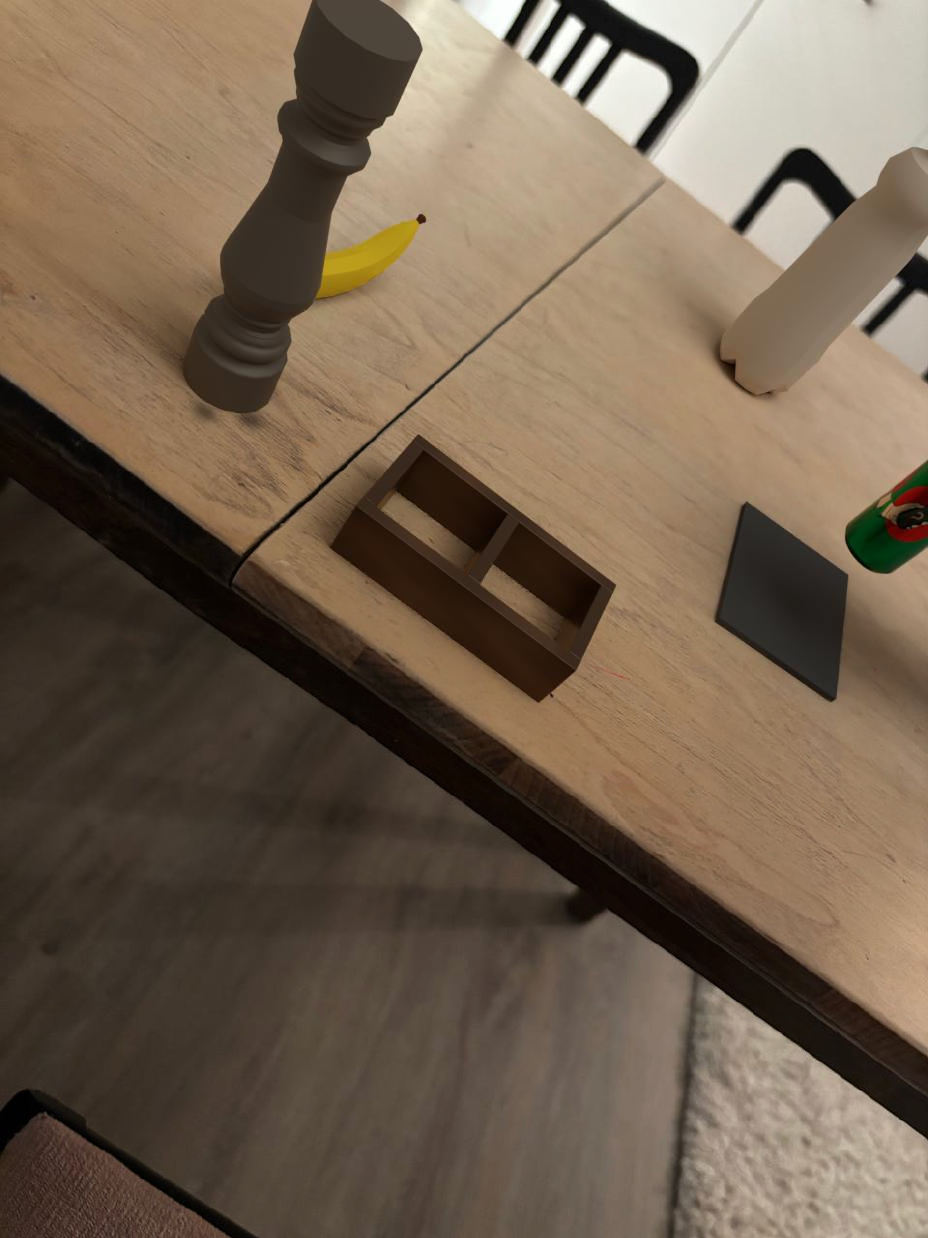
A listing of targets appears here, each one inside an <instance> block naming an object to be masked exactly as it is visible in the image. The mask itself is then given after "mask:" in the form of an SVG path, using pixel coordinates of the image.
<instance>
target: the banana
mask: <svg viewBox="0 0 928 1238" xmlns="http://www.w3.org/2000/svg"><path fill="white" fill-rule="evenodd" d="M425 223H427V217H426V215H424V213H418V215H417V217H416V218H415V219H412V220H411V219H410V220H407V221H401V222H399V223H396V224H394V225H391V226H389V227H387V228H385V229H383V230H381V231H380V232H378V233H376V234H374V235H373V236H371V237H369V238H367V239H366V240H364V241H362V242H361V243H358V244H356V245H353V246H351V247H347V248H344V249H339V250H336V251H335V250H334V251H331V252H326V254H325V260H324V267H323V274H322V281H321V287H320V289H319V291H318V293H317V295H316V298H315V299H322V298H328V297H333V296H336V295H341V294H344V293H347V292H350V291H352V290H355V289H357V288H359V287H362V286H363V285H365V284H367V283H368V282H371V281H372V280H374V279H375V278H376V277H378V276H380V275H381V274H382V273H383V272H384V271H386V270H387V269H388V268H389V267H391V266H393V264H394V263H395V262H396V261H398V260H399V258H400V257H401V256H402V255H403V254H404V252H405V251H406V250H407V249H408V247H410V244H412V242H413V240H414V238H415V236H416V234H417V232H418V229H419V227H420V225H422V224H425Z"/></svg>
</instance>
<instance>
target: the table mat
mask: <svg viewBox="0 0 928 1238" xmlns="http://www.w3.org/2000/svg"><path fill="white" fill-rule="evenodd" d="M849 576H850V575H849V574H848V573H847V572H846V571H844V570H842V568H840V567H839V566H837V565H836V564H834V563H833V562H831V561H830V560H828V558H826V557H825V556H823V555H821V554H820V553H819V552H818V551H816V550H815V549H813V548H812V547H810V546H809V545H808V544H807V543H805V542H804V541H802V540H801V539H799V538H798V537H797V536H795V535H794V534H793V533H791V532H790V531H789V530H787V529H786V528H784V527H783V526H782V525H780V524H779V523H778V522H776V521H775V520H773V519H772V518H771V517H769V516H768V515H766V514H765V513H763V511H761V510H760V509H758V508H757V507H756V506H754V505H753V504H751V503H750V502H749V501H745V502H744V503H743V504H742V507H741V509H740V515H739V519H738V523H737V527H736V531H735V537H734V540H733V544H732V549H731V553H730V557H729V562H728V566H727V570H726V575H725V578H724V583H723V587H722V592H721V595H720V600H719V604H718V608H717V613H716V617H715V622H716V623H717V624H719V625H720V626H722V628H724V629H726V630H727V631H729V632H730V633H731V634H733V635H734V636H736V637H737V638H739V639H740V640H742V641H743V642H745V644H747V645H748V646H750V647H752V648H753V649H755V650H756V651H757V652H759V653H761V654H762V655H763V656H765V657H766V658H768V659H769V660H770V661H772V663H774V664H776V665H777V666H779V667H781V669H783V670H784V671H786V672H787V673H789V674H790V675H792V676H793V677H794V678H796V679H797V680H799V681H801V682H802V683H803V684H804V685H806V686H807V687H809V688H810V689H812V691H813V690H814V692H816V693H817V694H819V695H820V696H821V697H823V698H825V699H826V700H828V701H829V702H830V703H833V702H834V701H836V700H837V699H838V688H839V679H840V678H839V677H840V667H841V658H842V655H841V654H842V647H843V635H844V628H845V627H844V625H845V615H846V605H847V595H848V586H849V585H848V584H849Z"/></svg>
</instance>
